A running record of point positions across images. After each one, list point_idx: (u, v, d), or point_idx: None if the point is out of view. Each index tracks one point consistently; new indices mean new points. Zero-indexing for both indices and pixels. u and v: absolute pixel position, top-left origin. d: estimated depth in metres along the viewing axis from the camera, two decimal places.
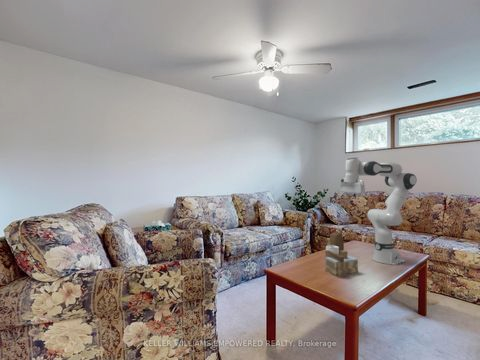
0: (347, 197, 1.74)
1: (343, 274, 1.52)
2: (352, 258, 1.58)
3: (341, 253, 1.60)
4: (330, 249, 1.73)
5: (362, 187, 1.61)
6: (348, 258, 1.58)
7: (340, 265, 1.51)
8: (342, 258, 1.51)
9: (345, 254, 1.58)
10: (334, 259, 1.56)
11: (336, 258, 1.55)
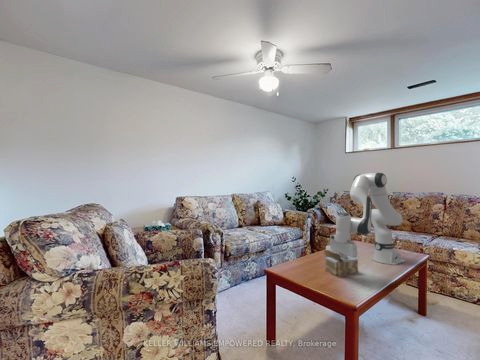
0: None
1: (343, 274, 1.52)
2: (352, 258, 1.58)
3: None
4: (330, 249, 1.73)
5: (354, 250, 1.41)
6: (348, 258, 1.58)
7: (340, 265, 1.51)
8: None
9: None
10: (334, 259, 1.56)
11: (335, 258, 1.56)
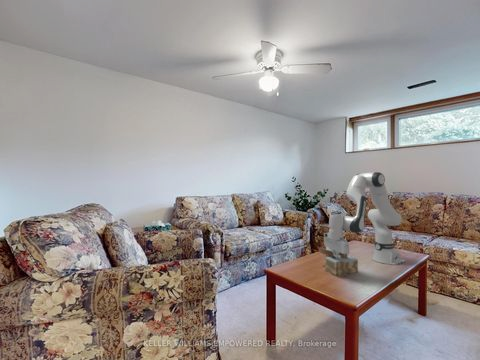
0: None
1: (343, 274, 1.52)
2: (352, 258, 1.58)
3: (341, 253, 1.60)
4: (330, 249, 1.73)
5: (346, 247, 1.48)
6: (348, 258, 1.58)
7: (340, 265, 1.51)
8: None
9: (345, 254, 1.58)
10: (334, 259, 1.56)
11: (328, 254, 1.62)
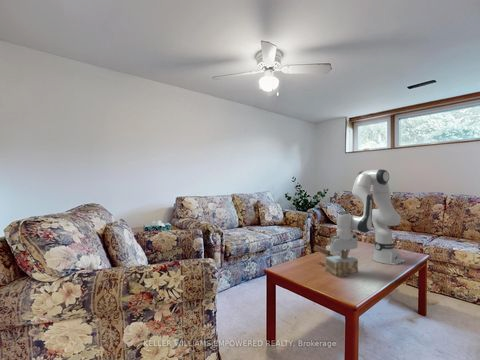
0: None
1: (343, 274, 1.52)
2: (352, 258, 1.58)
3: None
4: (330, 249, 1.73)
5: (331, 243, 1.57)
6: (348, 258, 1.58)
7: (340, 265, 1.51)
8: (328, 252, 1.64)
9: (345, 254, 1.58)
10: (334, 259, 1.56)
11: (323, 252, 1.67)
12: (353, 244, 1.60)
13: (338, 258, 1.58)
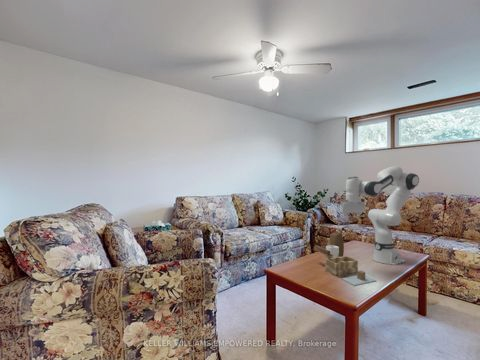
0: (357, 217, 1.69)
1: (343, 274, 1.52)
2: (370, 279, 1.45)
3: (358, 274, 1.46)
4: (330, 249, 1.73)
5: (340, 206, 1.65)
6: (366, 279, 1.45)
7: (340, 265, 1.51)
8: (328, 252, 1.64)
9: (363, 275, 1.45)
10: (351, 281, 1.43)
11: (323, 252, 1.67)
12: (361, 208, 1.68)
13: (355, 279, 1.45)
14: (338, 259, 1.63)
